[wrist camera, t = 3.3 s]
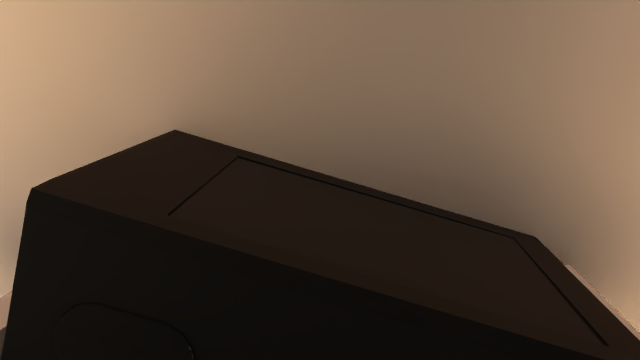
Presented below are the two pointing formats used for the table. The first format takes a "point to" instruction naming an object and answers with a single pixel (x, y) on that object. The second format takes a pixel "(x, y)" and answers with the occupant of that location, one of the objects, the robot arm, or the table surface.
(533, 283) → the digital camera
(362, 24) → the table surface
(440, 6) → the table surface
